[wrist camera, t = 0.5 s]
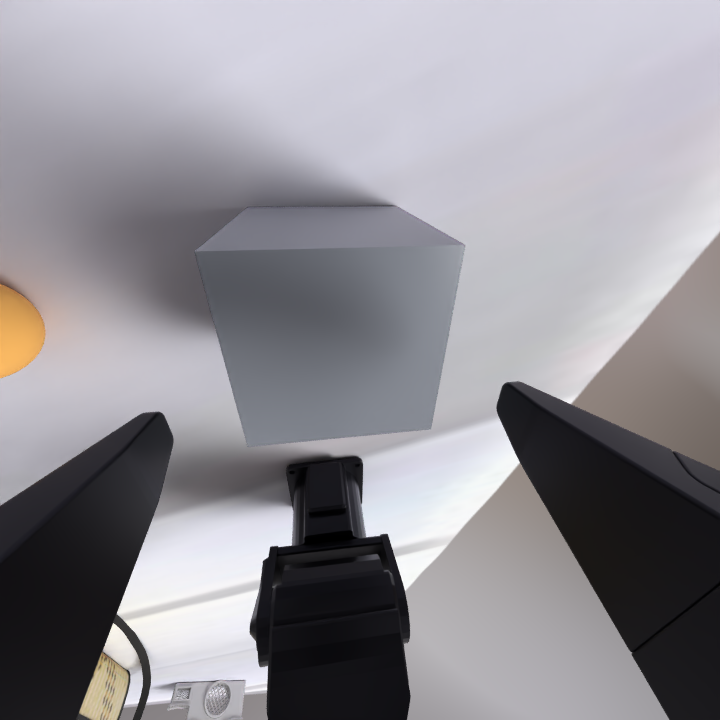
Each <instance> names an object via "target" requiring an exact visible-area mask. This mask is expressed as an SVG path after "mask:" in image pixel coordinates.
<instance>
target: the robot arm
mask: <svg viewBox="0 0 720 720" xmlns="http://www.w3.org/2000/svg"><path fill="white" fill-rule="evenodd" d="M497 413H498V416H499V418H500V420H501V422H502V425H503V427H504V429H505V431H506V433H507V436H508V438H509V440H510V442H511V445H512V447H513V449H514V451H515V453H516V455H517V457H518V459H519V461H520V463H521V465H522V467H523V469H524V470H525V472H526V474H527V475H528V477H529V479H530V480H531V482H532V484H533V486H534V487H535V489H536V491H537V493H538V494H539V496H540V498H541V500H542V501H543V503H544V505H545V506H546V508H547V510H548V512H549V513H550V515H551V517H552V518H553V520H554V522H555V524H556V525H557V527H558V528H559V530H560V532H561V534H562V536H563V537H564V539H565V541H566V542H567V544H568V546H569V547H570V549H571V551H572V553H573V554H574V556H575V558H576V559H577V561H578V563H579V565H580V566H581V568H582V570H583V572H584V573H585V575H586V577H587V578H588V580H589V582H590V584H591V585H592V587H593V589H594V590H595V592H596V594H597V596H598V597H599V599H600V601H601V602H602V604H603V606H604V608H605V609H606V611H607V613H608V615H609V616H610V618H611V620H612V621H613V623H614V625H615V627H616V628H617V630H618V631H619V633H620V635H621V637H622V639H623V640H624V642H625V644H626V645H627V647H628V649H629V650H630V651H631V652H632V656H633V658H634V660H635V661H636V663H637V665H638V666H639V668H640V670H641V672H642V673H643V675H644V676H645V678H646V680H647V682H648V683H649V685H650V687H651V689H652V690H653V692H654V694H655V695H656V697H657V699H658V701H659V702H660V704H661V706H662V708H663V709H664V711H665V713H666V714H667V716H668V718H669V720H720V471H718V470H716V469H714V468H712V467H709V466H707V465H705V464H702V463H700V462H698V461H696V460H694V459H691V458H689V457H687V456H685V455H682V454H680V453H678V452H676V451H673V452H672V450H671V449H669V448H666V447H664V446H662V445H660V444H658V443H656V442H653V441H651V440H649V439H647V438H644V437H642V436H640V435H638V434H635V433H633V432H631V431H629V430H627V429H624V428H622V427H620V426H618V425H615V424H613V423H611V422H609V421H607V420H604V419H602V418H600V417H598V416H595V415H593V414H590V413H589V412H586V411H584V410H582V409H580V408H578V407H575V406H573V405H571V404H569V403H567V402H564V401H562V400H560V399H558V398H555V397H553V396H551V395H549V394H547V393H544V392H542V391H540V390H538V389H535V388H533V387H531V386H529V385H527V384H524V383H522V382H518V381H517V382H507V383H505V384H504V385H503V386H502V389H501V392H500V396H499V399H498V402H497ZM172 447H173V435H172V432H171V430H170V428H169V425H168V423H167V421H166V418H165V416H164V415H163V414H162V413H161V412H148V413H142V414H140V415H138V416H137V417H135V418H134V419H132V420H131V421H129V422H128V423H126V424H125V425H123V426H122V427H120V428H119V429H117V430H116V431H114V432H112V433H111V434H109V435H108V436H106V437H105V438H103V439H102V440H100V441H99V442H97V443H96V444H94V445H93V446H91V447H90V448H88V449H86V450H85V451H83V452H82V453H80V454H79V455H77V456H76V457H74V458H73V459H71V460H70V461H68V462H67V463H65V464H64V465H62V466H60V467H59V468H57V469H56V470H54V471H53V472H51V473H50V474H48V475H47V476H45V477H44V478H42V479H41V480H39V481H38V482H36V483H34V484H33V485H31V486H30V487H28V488H27V489H25V490H24V491H22V492H21V493H19V494H18V495H16V496H15V497H13V498H12V499H10V500H8V501H7V502H5V503H4V504H2V505H1V506H0V720H77V717H78V715H79V712H80V709H81V707H82V704H83V701H84V699H85V696H86V693H87V691H88V688H89V685H90V683H91V680H92V677H93V675H94V672H95V669H96V667H97V664H98V662H99V659H100V656H101V654H102V651H103V648H104V646H105V643H106V640H107V638H108V635H109V632H110V630H111V627H112V624H113V622H114V619H115V616H116V614H117V611H118V609H119V606H120V603H121V601H122V598H123V595H124V593H125V590H126V587H127V585H128V582H129V579H130V577H131V574H132V571H133V569H134V566H135V563H136V561H137V558H138V556H139V553H140V550H141V548H142V545H143V542H144V540H145V537H146V534H147V532H148V529H149V526H150V524H151V521H152V518H153V516H154V513H155V510H156V507H157V505H158V502H159V498H160V495H161V491H162V487H163V483H164V479H165V475H166V471H167V467H168V463H169V459H170V455H171V451H172ZM286 474H287V480H288V485H289V491H290V496H291V501H292V507H293V534H292V546H285V547H278V546H272V547H270V552H269V557H268V558H266V559H265V560H264V561H263V567H262V576H261V583H260V589H259V593H258V597H257V600H256V604H255V608H254V611H253V615H252V619H251V623H250V634H251V636H252V637H253V638H254V639H255V641H256V647H257V651H258V662H259V666H260V667H265V666H268V685H267V716H268V720H407V715H408V710H409V703H410V690H409V685H408V675H407V667H406V660H405V652H404V644H405V643H408V642H409V639H410V623H409V613H408V606H407V600H406V595H405V590H404V586H403V583H402V579H401V576H400V573H399V570H398V566H397V563H396V560H395V556H394V553H393V550H392V547H391V543H390V540H389V537H388V534H380V536H374V537H366V534H365V527H364V520H363V514H362V507H361V504H362V485H363V462H362V459H360V458H351V459H341V460H332V461H322V462H313V463H303V464H294V465H289V466H288V467H287V470H286Z"/></svg>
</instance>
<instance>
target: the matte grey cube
mask: <svg viewBox="0 0 720 720" xmlns="http://www.w3.org/2000/svg"><path fill="white" fill-rule="evenodd" d="M464 250H465V245H464V244H463V243H461V242H459V241H457V240H456V239H454V238H452V237H450V236H448V235H447V234H445V233H443V232H441V231H440V230H438V229H436V228H434V227H433V226H431V225H429V224H427V223H426V222H424V221H422V220H420V219H419V218H417V217H415V216H413V215H412V214H410V213H408V212H406V211H405V210H403V209H401V208H399V207H398V206H334V207H247V208H246V209H245V210H243V211H242V212H241V213H240V214H239V215H237V216H236V217H235V218H234V219H233V220H231V221H230V222H229V223H228V224H227V225H225V226H224V227H223V228H222V229H221V230H219V231H218V232H217V233H216V234H215V235H214V236H212V237H211V238H210V239H209V240H208V241H206V242H205V243H204V244H203V245H202V246H200V247H199V248H198V249H197V250H196V251H194V252H195V255H196V259H197V263H198V266H199V270H200V274H201V278H202V281H203V285H204V289H205V292H206V296H207V300H208V303H209V307H210V311H211V314H212V318H213V322H214V325H215V329H216V333H217V336H218V340H219V344H220V347H221V351H222V355H223V358H224V362H225V366H226V369H227V373H228V377H229V380H230V384H231V388H232V391H233V395H234V399H235V402H236V406H237V410H238V413H239V417H240V421H241V424H242V428H243V432H244V435H245V439H246V443H247V446H248V447H252V446H262V445H273V444H283V443H293V442H304V441H314V440H325V439H335V438H345V437H356V436H366V435H377V434H387V433H397V432H408V431H418V430H429V429H431V426H432V421H433V415H434V410H435V405H436V399H437V394H438V389H439V383H440V378H441V373H442V367H443V362H444V357H445V351H446V346H447V341H448V335H449V330H450V325H451V319H452V314H453V309H454V303H455V298H456V293H457V287H458V282H459V277H460V271H461V266H462V261H463V255H464Z"/></svg>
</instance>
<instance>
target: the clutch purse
mask: <svg viewBox="0 0 720 720" xmlns="http://www.w3.org/2000/svg"><path fill="white" fill-rule="evenodd" d="M113 623H114V624H116V625H117V626H118V627H119V628H120V629H121V630H122V631H123V632H124V633H125V635H126V636H127V638H128V639H129V641H130V642H131V644H132V645H133V647H134V648H135V650H136V652H137V654H138V656H139V659H140V662H141V666H142V673H143V688H142V693H141V697H140V700H139V704H138V707H137V710H136V713H135V715H134V718H133V720H140V719H141V717H142V713H143V710H144V708H145V705H146V702H147V698H148V695H149V690H150V685H151V672H150V665H149V660H148V656H147V653H146V651H145V649H144V647H143V645H142V644H141V642H140V640H139V639H138V637H137V635H136V634H135V632H134V631H133V630H132V629H131V628H130V627H129V626H128V625H127V624H126V623H125V622H124V621H123V619H121V618H120V617H119V616H118V615H116V616H115V619H114V622H113ZM129 685H130V672H129V671H128V670H124V669H123V668H122V667H120V666H119V665H118V664H117V663H115V662H114V661H113V660H112V659H110V658H109V657H108V656H107V655H105V654H104V653H103V652H102V654H101V656H100V659H99V662H98V664H97V667H96V669H95V672H94V675H93V677H92V680H91V683H90V685H89V688H88V691H87V693H86V696H85V699H84V701H83V704H82V707H81V709H80V712H79V715H78V717H77V720H119V718H120V716H121V713H122V710H123V707H124V704H125V700H126V697H127V693H128V690H129Z"/></svg>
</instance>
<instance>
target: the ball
mask: <svg viewBox="0 0 720 720" xmlns="http://www.w3.org/2000/svg"><path fill="white" fill-rule="evenodd" d="M44 340H45V327H44V322H43V319H42V317H41V315H40V314H39V312H38V311H37V309H36V308H35V307H34V306H33V304H32V303H30V302H29V301H28V300H27V299H26V298H25V297H23V296H22V295H21V294H19V293H17V292H16V291H14V290H12V289H10V288H8V287H6V286H4V285H2V284H0V378H3V377H6V376H8V375H11V374H13V373H15V372H17V371H19V370H21V369H22V368H24V367H26V366H27V365H28V364H29V363H30V362H32V361H33V360H34V359H35V357H36V356H37V355H38V354H39V352H40V351H41V349H42V346H43V344H44Z"/></svg>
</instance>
